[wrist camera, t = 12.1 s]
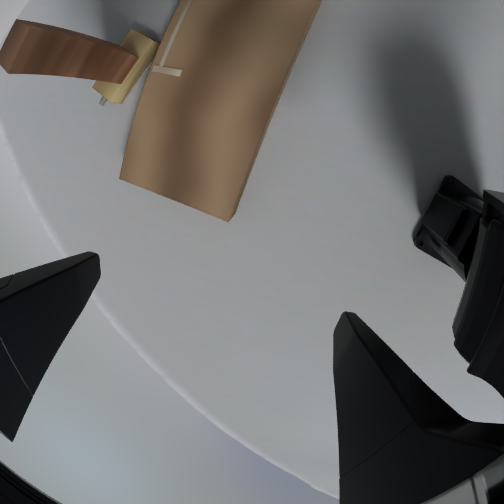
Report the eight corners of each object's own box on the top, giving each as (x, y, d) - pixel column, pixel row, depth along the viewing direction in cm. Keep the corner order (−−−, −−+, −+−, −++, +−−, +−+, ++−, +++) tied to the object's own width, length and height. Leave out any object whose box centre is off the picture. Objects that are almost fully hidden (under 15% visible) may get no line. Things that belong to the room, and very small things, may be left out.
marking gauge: (162, 45, 17) (50, -1, 5) (116, 112, 19) (-7, 118, 8) (140, 33, 16) (31, -8, 5) (97, 97, 19) (-19, 98, 8)
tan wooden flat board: (333, -25, 12) (335, -38, 10) (234, 214, 21) (227, 222, 19) (222, -46, 12) (215, -58, 10) (132, 174, 21) (118, 178, 20)
